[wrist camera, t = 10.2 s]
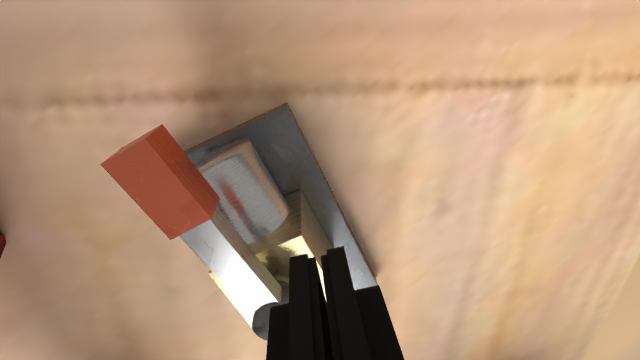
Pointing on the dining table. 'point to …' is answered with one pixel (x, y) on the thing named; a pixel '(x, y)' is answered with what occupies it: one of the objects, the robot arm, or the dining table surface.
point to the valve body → (277, 197)
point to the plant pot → (2, 244)
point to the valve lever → (195, 219)
